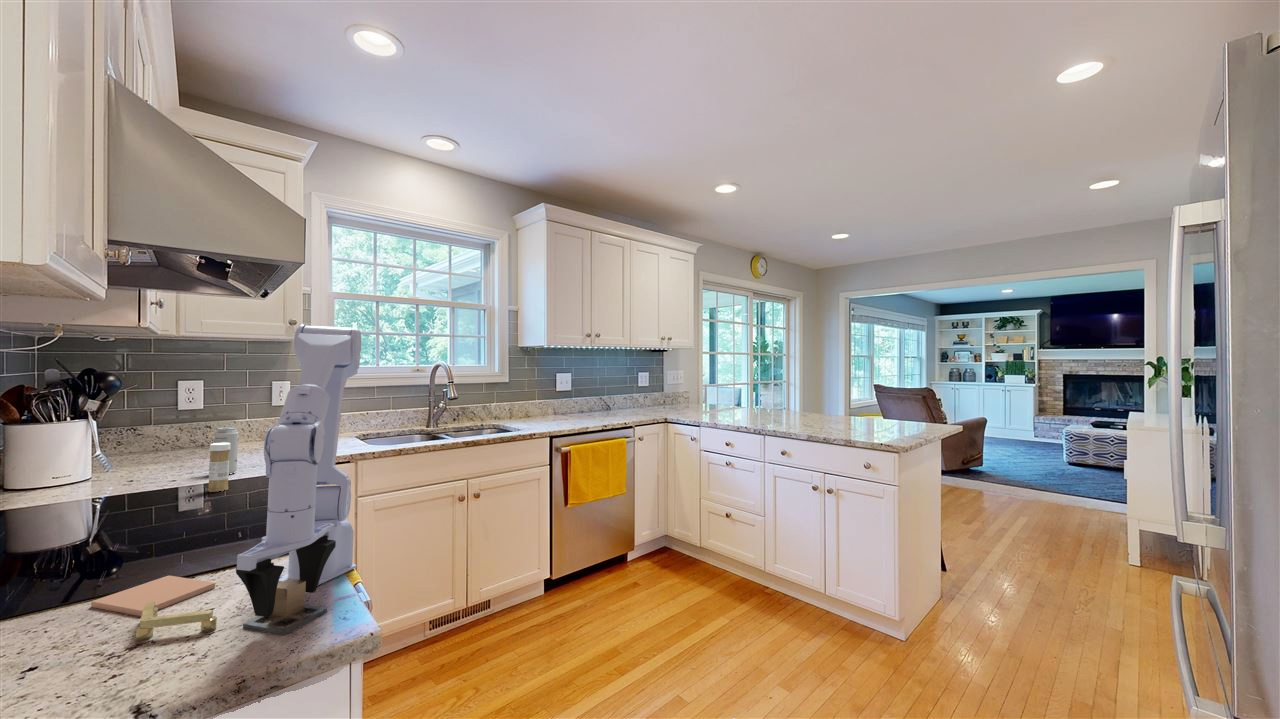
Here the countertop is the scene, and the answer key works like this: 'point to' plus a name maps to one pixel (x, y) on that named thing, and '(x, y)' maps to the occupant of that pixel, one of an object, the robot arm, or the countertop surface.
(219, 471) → the sprinkles bottle
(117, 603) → the tile
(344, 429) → the countertop surface
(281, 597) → the grey window frame
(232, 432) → the energy drink can
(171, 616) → the brass bent rod
